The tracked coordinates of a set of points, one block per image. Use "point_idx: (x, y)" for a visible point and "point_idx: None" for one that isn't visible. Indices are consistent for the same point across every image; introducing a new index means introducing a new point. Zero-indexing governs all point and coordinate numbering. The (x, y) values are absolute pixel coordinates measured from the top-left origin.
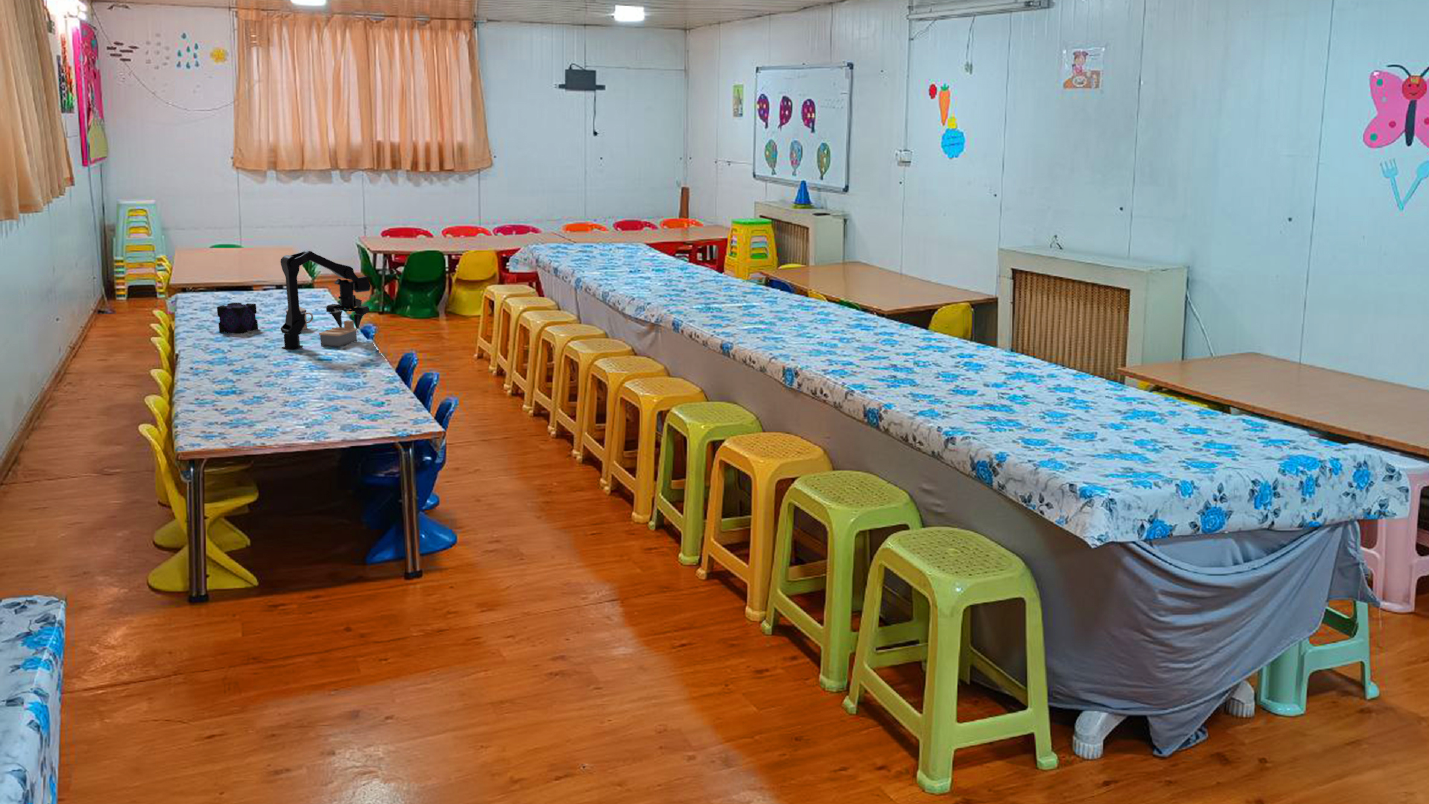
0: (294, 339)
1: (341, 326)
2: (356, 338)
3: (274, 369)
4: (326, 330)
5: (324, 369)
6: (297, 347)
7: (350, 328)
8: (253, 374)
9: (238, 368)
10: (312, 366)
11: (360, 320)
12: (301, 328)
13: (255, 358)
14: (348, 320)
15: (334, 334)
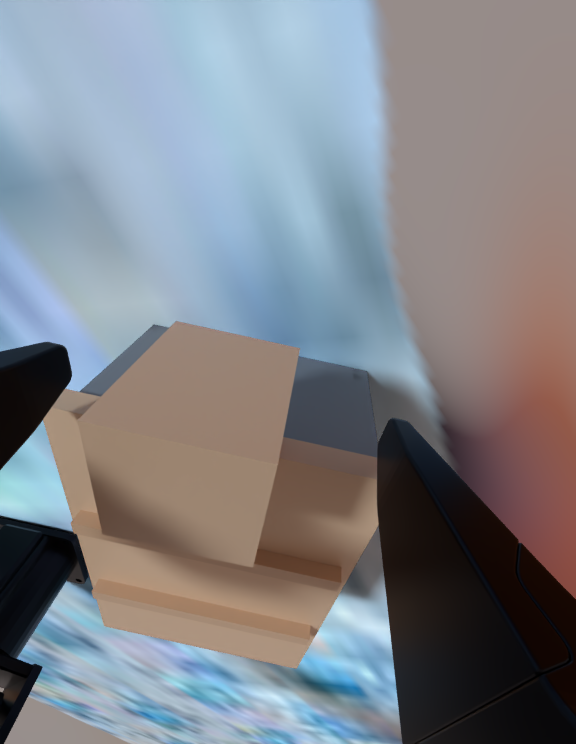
0: (37, 625)
1: (56, 358)
2: (367, 392)
3: (230, 721)
4: (105, 596)
5: (379, 741)
6: (81, 569)
7: (294, 487)
8: (209, 733)
9: (128, 703)
10: (326, 721)
11: (532, 576)
12: (11, 724)
13: (71, 650)
14: (127, 451)
15: (255, 656)
